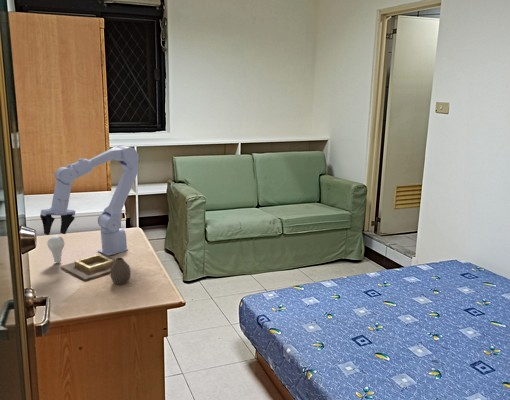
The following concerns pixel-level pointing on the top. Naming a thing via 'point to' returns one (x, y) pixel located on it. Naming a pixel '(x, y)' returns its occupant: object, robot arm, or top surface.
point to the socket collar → (106, 261)
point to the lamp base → (83, 274)
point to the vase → (120, 271)
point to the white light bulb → (56, 247)
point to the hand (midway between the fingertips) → (54, 233)
